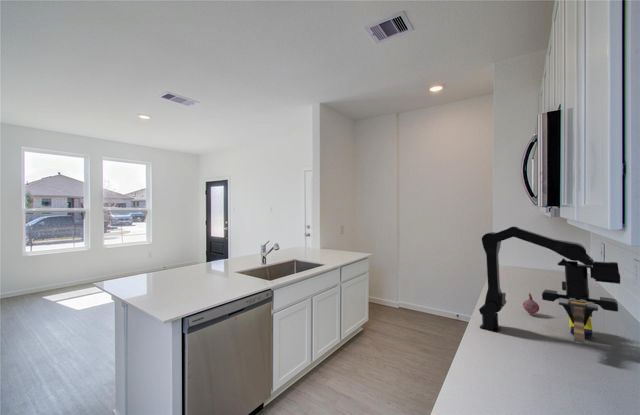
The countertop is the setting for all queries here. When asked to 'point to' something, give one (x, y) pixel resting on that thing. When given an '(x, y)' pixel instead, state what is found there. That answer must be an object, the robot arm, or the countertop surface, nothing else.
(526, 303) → the vegetable
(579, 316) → the bar
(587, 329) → the supplement box
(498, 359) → the countertop surface
